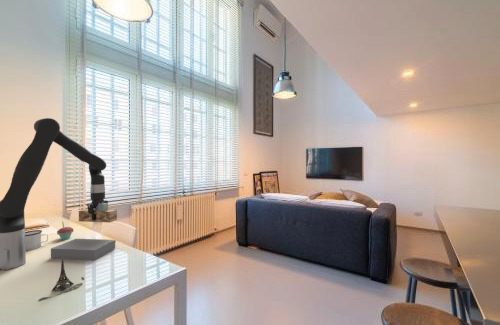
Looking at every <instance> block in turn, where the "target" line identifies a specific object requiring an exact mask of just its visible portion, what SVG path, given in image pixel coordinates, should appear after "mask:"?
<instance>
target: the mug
mask: <svg viewBox="0 0 500 325" xmlns="http://www.w3.org/2000/svg"><path fill="white" fill-rule="evenodd" d="M42 232H43V230H42V229H41V230H40V229H36V230H35V229H34V230H29V231H25V251H32V250H36V249H38V248H40V247H42V243H46V242H48V240H49V235H48V233H42ZM42 236H46V240H44V241H43V240H42Z"/></svg>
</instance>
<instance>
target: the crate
mask: <svg viewBox="0 0 500 325" xmlns="http://www.w3.org/2000/svg"><path fill="white" fill-rule="evenodd" d="M106 210H109V203H102V204H98V210H97V211H106Z"/></svg>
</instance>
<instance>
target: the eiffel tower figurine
mask: <svg viewBox="0 0 500 325" xmlns="http://www.w3.org/2000/svg"><path fill="white" fill-rule="evenodd" d="M60 259H61V258H60ZM64 260H65V259H63V256H62V259H61V263H60V264H61V266H60V274H59V277H58V280H57V281H56V284H55V285H54V286H53V288H52V289H51V292H59V293H58V294H55V295H54V296H49V297H47V296H46V297H45V296H43V297H41V298H39V299H38V300H37V301H38V302H41V301H43V300H47V299H49V298H53V297H56V296H59V295H60V296H61V295H62V294H66V293H69V292H72V291H76V290H77V289H80V288H81V287H82V286H83V284H84V283H83V282H79V283H76V284H75V283H74V282H72V281H71V280H70V278H68V276H67V274H66V272H65V271H66V270H65V265H64V262H65V261H64ZM80 279H81V281H85V278H84V276H81V278H80Z"/></svg>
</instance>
